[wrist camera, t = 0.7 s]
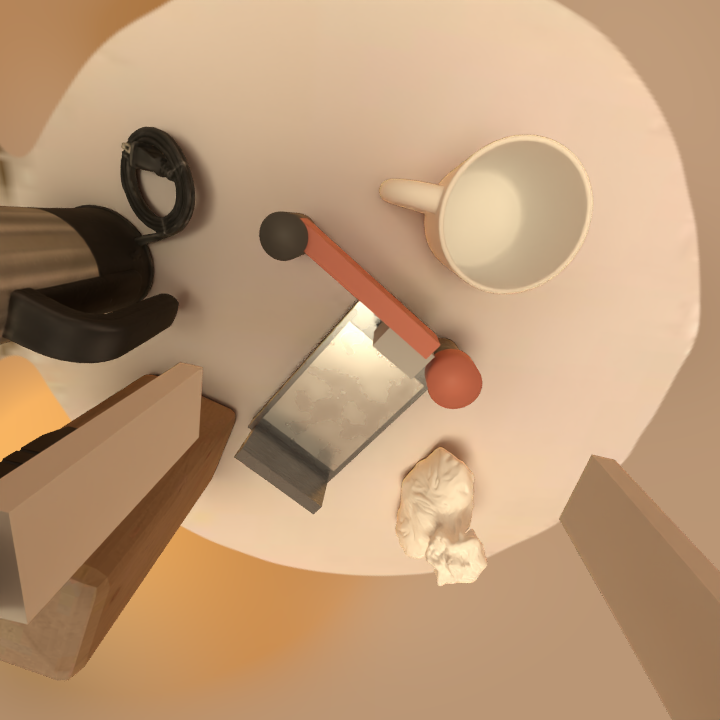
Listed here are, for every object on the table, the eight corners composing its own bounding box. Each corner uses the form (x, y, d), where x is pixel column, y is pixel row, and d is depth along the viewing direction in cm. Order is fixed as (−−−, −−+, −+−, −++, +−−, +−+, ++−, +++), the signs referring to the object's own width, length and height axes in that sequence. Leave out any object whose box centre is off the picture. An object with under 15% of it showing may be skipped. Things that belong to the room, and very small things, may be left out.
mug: (366, 243, 31) (357, 253, 22) (396, 134, 28) (401, 90, 19) (501, 284, 32) (550, 311, 22) (544, 180, 29) (623, 160, 19)
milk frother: (58, 299, 35) (-157, 350, 21) (39, 105, 30) (-270, 3, 16) (206, 329, 35) (88, 400, 21) (214, 142, 30) (63, 74, 16)
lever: (270, 240, 29) (245, 245, 24) (301, 199, 28) (282, 194, 23) (445, 393, 33) (456, 424, 28) (479, 362, 32) (497, 389, 27)
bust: (408, 510, 44) (479, 603, 36) (359, 522, 39) (427, 632, 31) (457, 430, 40) (548, 514, 32) (408, 432, 35) (501, 533, 27)
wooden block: (241, 409, 38) (100, 593, 19) (212, 480, 41) (68, 694, 23) (148, 367, 37) (-96, 517, 18) (126, 443, 40) (-98, 635, 22)
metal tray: (252, 419, 38) (229, 453, 33) (380, 275, 32) (379, 286, 27) (330, 478, 40) (321, 520, 35) (465, 352, 34) (480, 378, 29)
